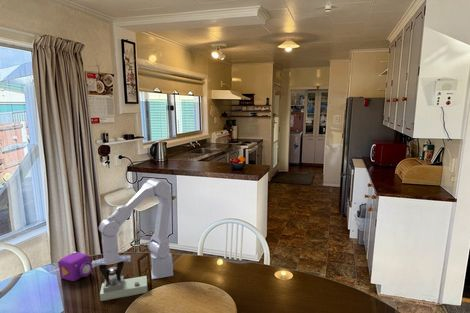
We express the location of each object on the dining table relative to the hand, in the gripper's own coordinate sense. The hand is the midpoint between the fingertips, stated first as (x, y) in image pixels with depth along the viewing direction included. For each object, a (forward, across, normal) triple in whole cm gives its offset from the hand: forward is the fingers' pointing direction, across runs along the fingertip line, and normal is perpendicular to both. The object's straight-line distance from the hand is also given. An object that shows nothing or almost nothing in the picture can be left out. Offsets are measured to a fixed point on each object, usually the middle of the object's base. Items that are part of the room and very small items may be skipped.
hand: (113, 279), depth 125 cm
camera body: (+6, -4, 0) cm, 7 cm away
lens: (+2, 0, 0) cm, 2 cm away
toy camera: (+6, +17, -19) cm, 26 cm away
